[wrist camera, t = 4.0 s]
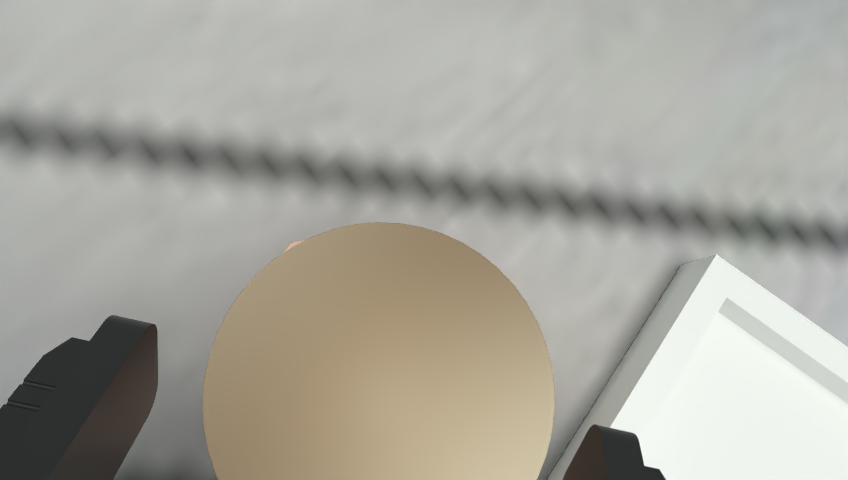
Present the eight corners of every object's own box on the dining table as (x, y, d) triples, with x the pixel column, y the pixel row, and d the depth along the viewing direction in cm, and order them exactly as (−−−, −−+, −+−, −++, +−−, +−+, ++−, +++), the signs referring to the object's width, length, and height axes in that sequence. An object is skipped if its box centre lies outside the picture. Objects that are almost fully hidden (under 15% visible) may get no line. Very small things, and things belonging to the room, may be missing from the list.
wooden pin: (298, 382, 22) (127, 440, 6) (358, 301, 22) (345, 157, 6) (380, 441, 21) (424, 660, 6) (437, 358, 22) (617, 352, 6)
